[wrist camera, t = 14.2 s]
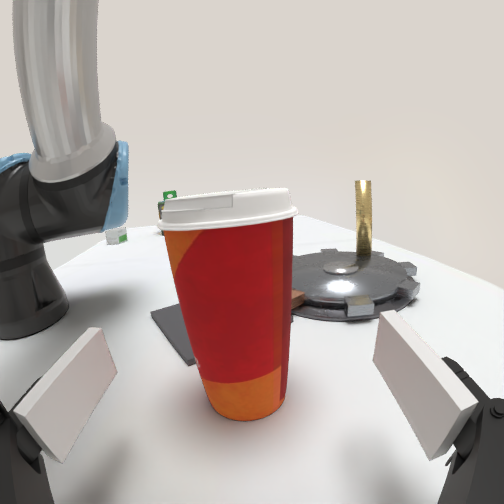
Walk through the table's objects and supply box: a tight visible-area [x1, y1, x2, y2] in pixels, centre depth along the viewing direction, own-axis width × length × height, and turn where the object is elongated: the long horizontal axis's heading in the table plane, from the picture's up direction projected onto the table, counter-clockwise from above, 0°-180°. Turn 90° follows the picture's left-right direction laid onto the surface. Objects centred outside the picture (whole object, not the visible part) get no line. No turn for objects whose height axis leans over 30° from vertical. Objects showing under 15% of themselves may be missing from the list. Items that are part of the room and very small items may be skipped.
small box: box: [105, 227, 128, 245], centre depth 85 cm, size 6×6×5 cm
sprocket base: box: [291, 276, 415, 322], centre depth 37 cm, size 22×22×1 cm
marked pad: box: [151, 304, 293, 366], centre depth 30 cm, size 12×12×1 cm
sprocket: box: [291, 181, 420, 317], centre depth 35 cm, size 23×23×13 cm
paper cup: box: [157, 188, 299, 421], centre depth 16 cm, size 8×8×14 cm
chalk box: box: [158, 191, 177, 235], centre depth 94 cm, size 9×9×15 cm
